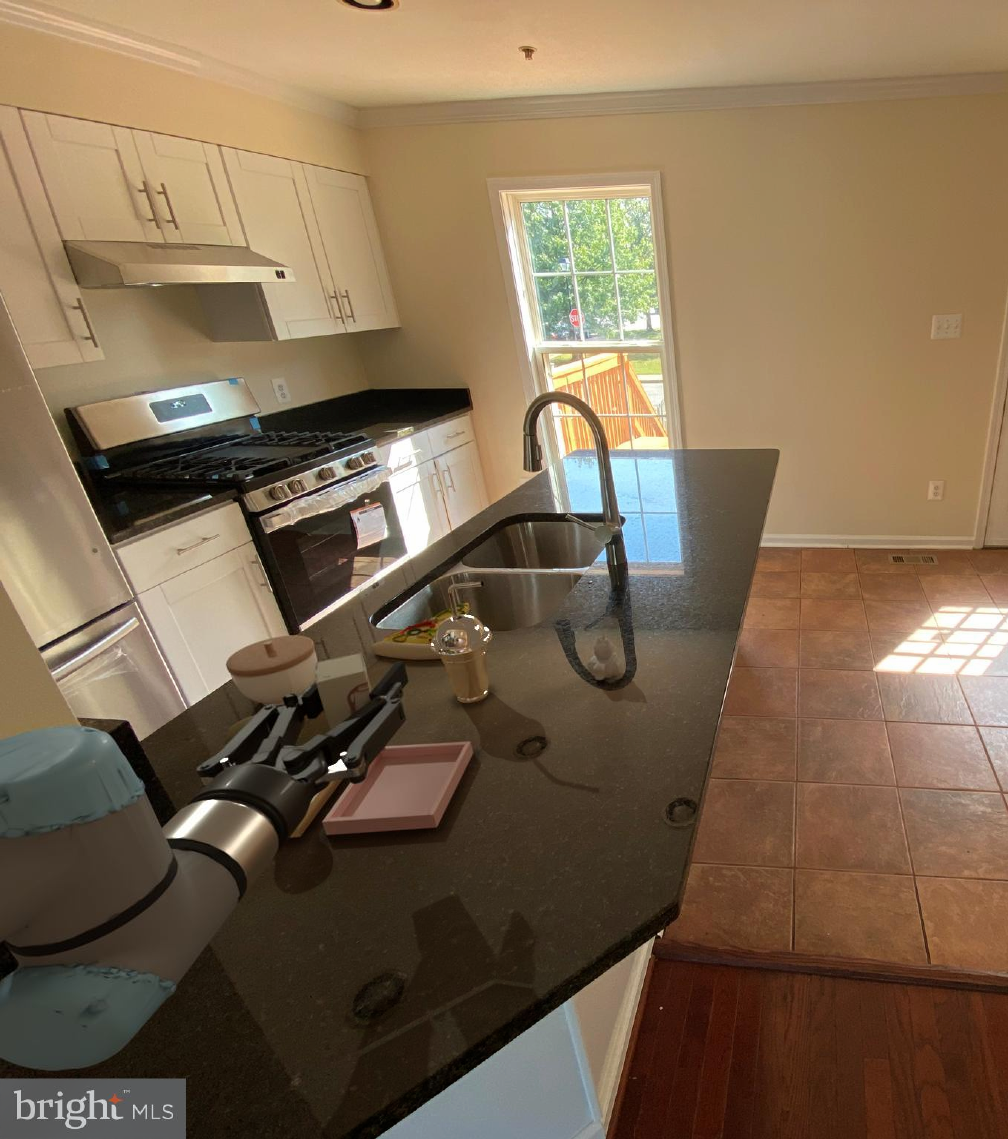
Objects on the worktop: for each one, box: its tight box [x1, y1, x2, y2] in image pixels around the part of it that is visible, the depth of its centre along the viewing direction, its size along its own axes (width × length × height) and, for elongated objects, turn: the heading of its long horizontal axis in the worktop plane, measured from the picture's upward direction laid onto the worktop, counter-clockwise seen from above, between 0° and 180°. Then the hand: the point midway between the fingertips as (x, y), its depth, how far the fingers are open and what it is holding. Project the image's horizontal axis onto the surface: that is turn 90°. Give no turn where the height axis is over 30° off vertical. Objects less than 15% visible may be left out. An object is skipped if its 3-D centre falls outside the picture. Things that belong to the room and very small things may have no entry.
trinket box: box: [225, 634, 319, 707], centre depth 94 cm, size 11×11×9 cm
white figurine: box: [587, 632, 623, 681], centre depth 100 cm, size 5×7×8 cm
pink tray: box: [321, 741, 474, 836], centre depth 77 cm, size 12×13×2 cm
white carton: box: [315, 651, 385, 751], centre depth 65 cm, size 5×4×10 cm
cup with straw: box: [431, 580, 493, 704], centre depth 92 cm, size 8×9×20 cm
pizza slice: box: [371, 602, 470, 661], centre depth 114 cm, size 16×21×3 cm
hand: (372, 672), depth 70 cm, fingers closed on white carton, 6 cm apart
